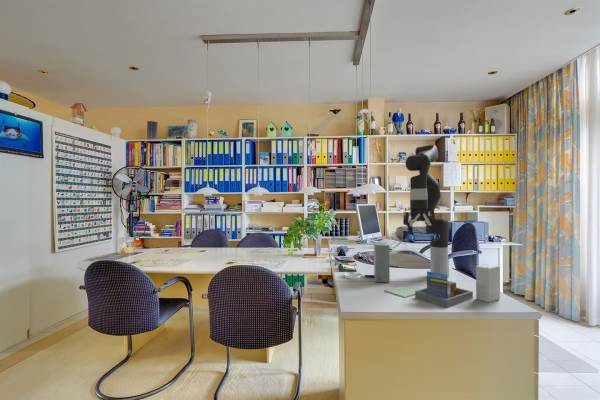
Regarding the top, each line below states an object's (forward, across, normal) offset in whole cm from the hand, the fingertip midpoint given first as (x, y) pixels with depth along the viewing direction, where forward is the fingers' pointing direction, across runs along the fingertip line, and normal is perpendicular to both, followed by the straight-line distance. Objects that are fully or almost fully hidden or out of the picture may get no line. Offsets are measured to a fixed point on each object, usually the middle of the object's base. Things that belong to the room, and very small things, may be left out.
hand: (419, 234), depth 134 cm
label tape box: (+29, -6, +5) cm, 30 cm away
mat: (+28, +5, -8) cm, 30 cm away
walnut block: (+29, -13, +1) cm, 32 cm away
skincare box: (+29, -27, +9) cm, 40 cm away
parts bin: (+28, -9, +4) cm, 30 cm away
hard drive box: (+29, +4, -32) cm, 43 cm away
